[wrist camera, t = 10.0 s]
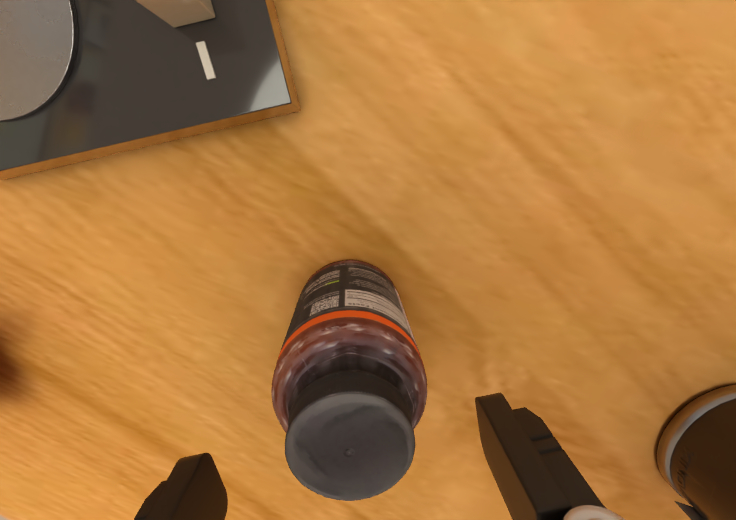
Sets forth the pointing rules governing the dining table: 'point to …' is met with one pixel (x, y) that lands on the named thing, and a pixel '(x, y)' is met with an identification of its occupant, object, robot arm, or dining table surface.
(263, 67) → the hob
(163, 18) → the knob
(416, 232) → the dining table surface
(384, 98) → the dining table surface
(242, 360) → the dining table surface
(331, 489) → the supplement bottle
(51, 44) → the burner
